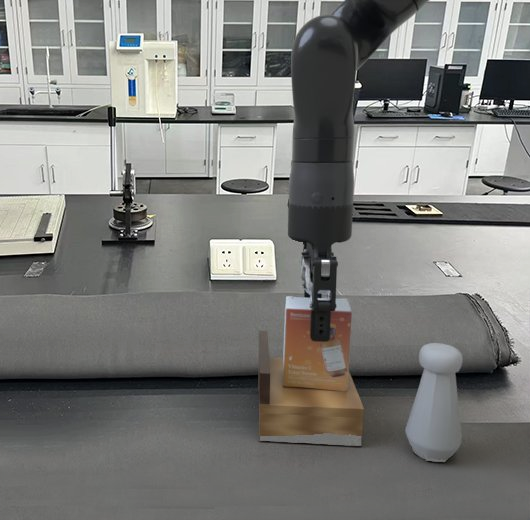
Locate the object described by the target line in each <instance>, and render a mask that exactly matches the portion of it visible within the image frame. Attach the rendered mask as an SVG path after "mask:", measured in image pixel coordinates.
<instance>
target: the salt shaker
mask: <svg viewBox="0 0 530 520" xmlns="http://www.w3.org/2000/svg"><path fill="white" fill-rule="evenodd" d="M463 360H464V359H463V353H461V351H460V350H459V349H458V348H456V347H455V346H452V345H450V344H446V343H440V342H430V343H426V344H424V345H423V346H421V348H420V349H419V353H418V362H419V365H420V366H421V367H422V368H423V371H422V374H421V377H420V381H419V385H418V389H417V392H416V395H415V398H414V400H413V403H412V407H411V411H410V414H409V416H408V420H407V423H406V426H405V435H406V438H407V440H408V443H409V446H410V445H411V446H413V447H414V448H415V449H416V450H417V451H418V452H419V453H421V454H423V455H424V456H425V457H427V458H433V459H437V460H441V459H442V460H447V459H448V458H449V457H451V456H453V455H454V454H455V453H456V452H457V451H458V450H459V449H460V446H461V444H462V442H463V441H462V440H463V436H462V424H461V417H460V407H459V397H458V386H457V376H456V373H459V371H460V370H461V368H462V366H463V362H464V361H463ZM411 446H410V447H411ZM451 458H452V457H451Z"/></svg>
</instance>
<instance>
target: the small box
mask: <svg viewBox="0 0 530 520" xmlns="http://www.w3.org/2000/svg"><path fill="white" fill-rule="evenodd" d="M318 300H327V297H322V298H318ZM309 304H310V298H305V297H304V296H303V297H301V296H299V297H298V296H291V295H287V296H285V306H284V307H285V308H284V325H283V326H284V327H283V351H282V352H283V353H282V358H283V386H289V387H305V388H315V389H325V390H335V391H342V392H346V391H347V386H348V371H349V370H350V369H349V368H350V351H351V335H352V321H353V320H352V319H353V312H352V309H351V305H350V302H349V298H347V297H346V298H345V297H344V298H342V297H339V298H336V308H335V311H332V312H331V321H330V339H329V340H328V341H327V342H319V341H312V340H311V338H310V322H311V309H310V308H309ZM349 372H350V371H349Z"/></svg>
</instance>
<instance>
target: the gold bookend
mask: <svg viewBox="0 0 530 520" xmlns="http://www.w3.org/2000/svg"><path fill="white" fill-rule="evenodd" d="M268 333H269V332H268V330H258V372H257V373H258V374H257V375H258V376H257V377H258V378H257V381H258V382H257V393H258V437H259V436H294V435H314V434H323V433H331V434H338V435H349V434H351V435H356V436H362V437H363V431H364V418H365V407H364V405H363V402H362V400H361V397H360V395H359V393H358V390H357V388H356V384H355V383H354V379H353V377H352V375H351V372H350V371H348V386H347V391H346V392H342V391H335V390H325V389H315V388H305V387H289V386H283V357H272V356H270V348H269V346H270V345H269V334H268Z"/></svg>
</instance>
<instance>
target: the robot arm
mask: <svg viewBox="0 0 530 520" xmlns="http://www.w3.org/2000/svg"><path fill="white" fill-rule="evenodd" d="M428 2H430V0H343V1H342V2H341V4H340V5H339V6H337V8H336V9H334V11H333V12H331V13H330V14H321V15H318V16H315V17H313V18H311V19H310V20H308V21H307V22H305V23H304V24H303V26H302V27H301V28H300V29H299V30H298V32H297V34H296V35H295V37H294V39H293V42H292V47H291V56H290V74H291V75H290V77H291V95H292V105H293V106H292V108H293V126H292V137H291V138H292V140H291V142H292V143H291V165H290V173H289V179H288V205H287V207H288V209H287V210H288V211H287V236H288V238H291V239H292V240H295V241H298V242H303V252H301V261H300V265H301V266H300V278H301V279H302V281H303V282H302V283H301V284H302V285H301V286H302V288H303V290H304V291H303V297H305V298H310V304H309V308H310V309H311V322H310V338H311V340H312V341H319V342H327V341H328V340H329V339H330V321H331V312H332V311H335V308H336V299H337V279H338V278H337V277H338V274H337V273H338V267H339V262H338V258H337V257H338V256H336V255H335V254H334V253H335V251H333V249H332V247H333V245H334V244H335V243H338V244H339V243H346V242H348V241H349V240H350V239H351V238H352V235H353V233H352V232H353V213H354V194H355V173H354V152H355V119H354V112H353V109H354V100H355V89H356V81H357V80H356V78H357V71H359V69H360V68H362V66H363V65H364V64H366V62H367V61H368V60H369V59H370V58H371V57H372V56H373V55H374V54H375V53H376V51H377V50H378V49H379V48H380V47H381V46H382V45H383V44H384V43H385V42H386V40H388V38H389V37H390V36H391V35H392V34H393V33H394V32H395V31H396V30H397V29H399V28H400V27H401V26H402V25H403V24H405V23H406V22H408V20H410V19H411V18H412V17H413V16H414V15H416V13H417V12H419V11H420V10H421V9H422V8H423V7H424V6H425V5H427V3H428ZM323 295H326V298H327V300H318V298H323Z"/></svg>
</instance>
